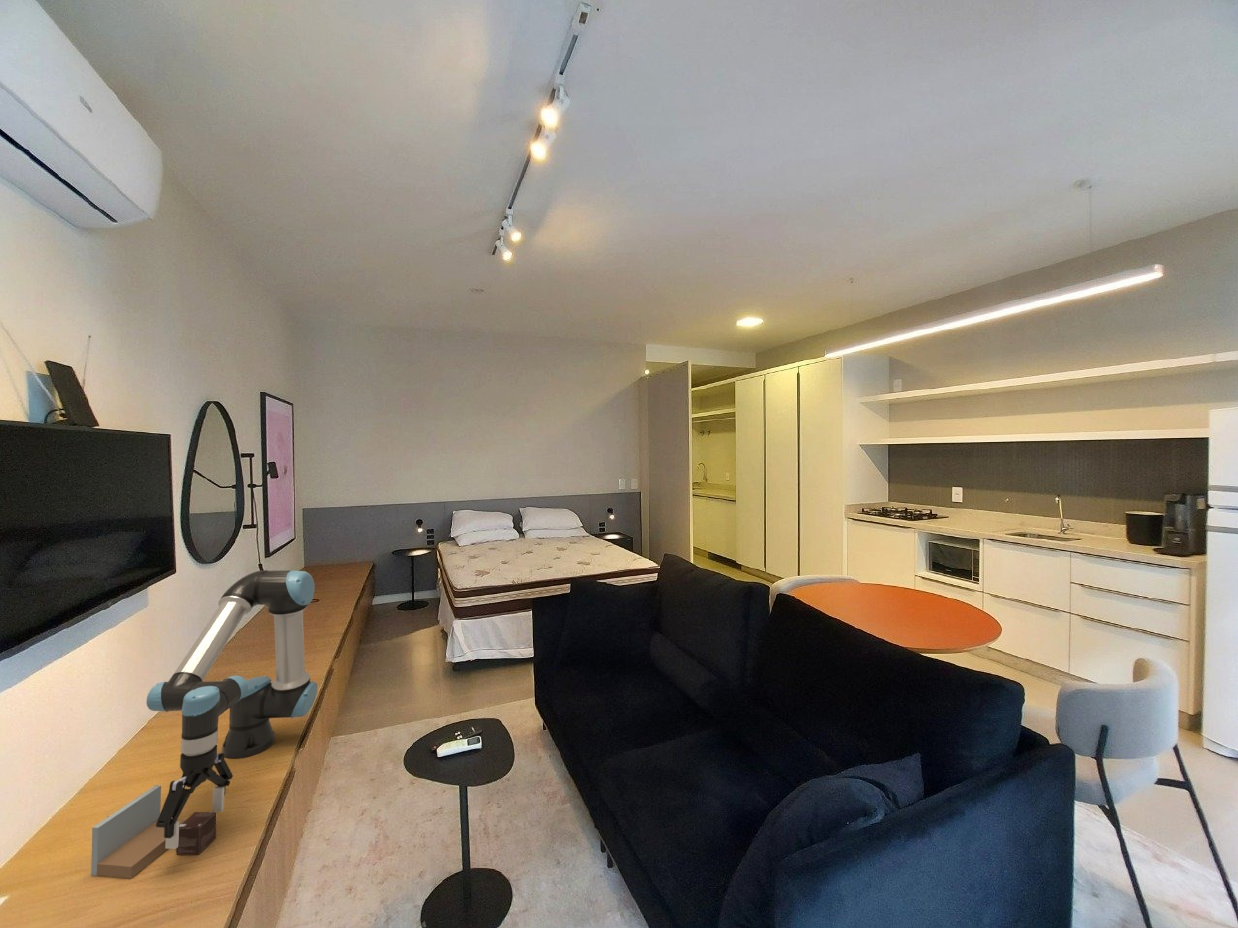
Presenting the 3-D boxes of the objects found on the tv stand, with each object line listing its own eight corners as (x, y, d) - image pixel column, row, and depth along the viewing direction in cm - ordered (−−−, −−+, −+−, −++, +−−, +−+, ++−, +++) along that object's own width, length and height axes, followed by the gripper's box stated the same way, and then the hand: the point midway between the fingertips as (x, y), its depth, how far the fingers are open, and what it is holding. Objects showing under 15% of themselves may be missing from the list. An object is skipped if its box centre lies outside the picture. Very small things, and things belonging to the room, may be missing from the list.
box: (216, 838, 136) (217, 811, 136) (198, 856, 130) (199, 828, 130) (194, 838, 136) (194, 811, 136) (175, 855, 130) (175, 827, 130)
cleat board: (154, 827, 139) (156, 785, 139) (190, 830, 138) (191, 788, 138) (91, 875, 123) (92, 827, 123) (131, 879, 122) (132, 830, 122)
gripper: (225, 723, 145) (222, 796, 145) (138, 776, 120) (134, 864, 120) (249, 725, 145) (246, 798, 145) (167, 779, 120) (164, 867, 120)
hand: (196, 828), depth 133 cm, fingers open, 13 cm apart
